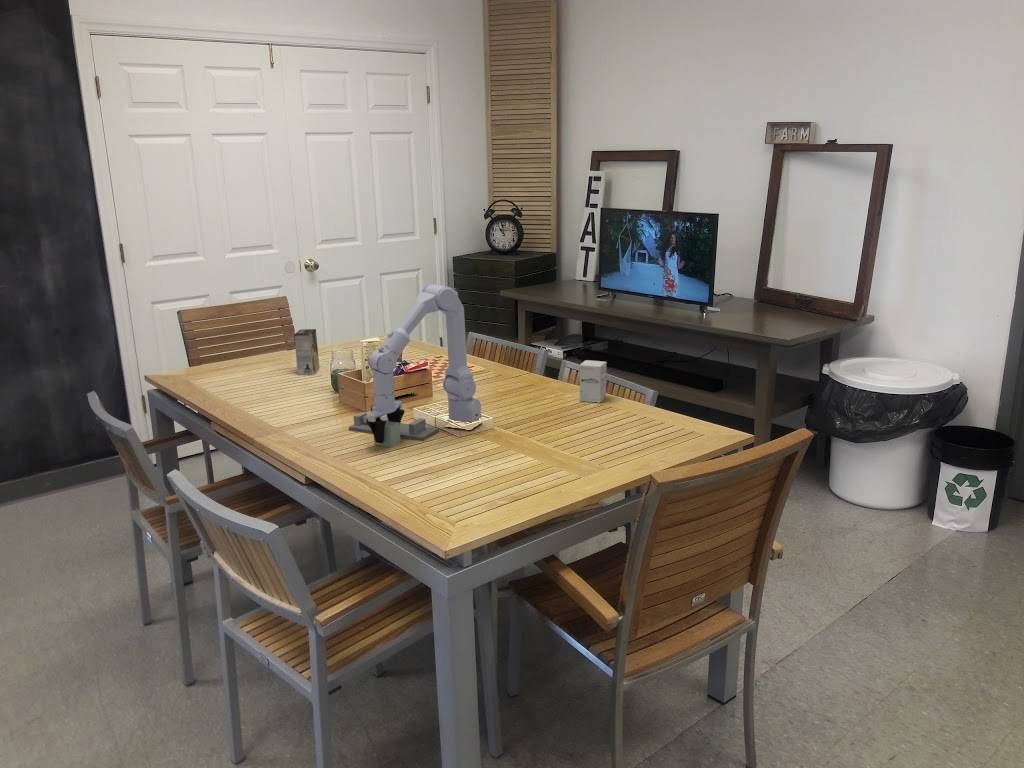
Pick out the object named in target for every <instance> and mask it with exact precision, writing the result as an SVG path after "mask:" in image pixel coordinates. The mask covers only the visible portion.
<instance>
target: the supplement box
mask: <svg viewBox="0 0 1024 768" xmlns="http://www.w3.org/2000/svg"><path fill="white" fill-rule="evenodd" d="M607 363H608V362H607V361H603V360H602V361H600V360H590V359H589V360H588V359H586V360H584V361H583V362H581V363H580V364H579V399H578V400H579V402H587V403H595V402H597V403H596V404H601V403H602V402H603V401H604V400H605V399H606V397H605V396H606V395H607V393H606V392H607V391H606V390H607ZM604 398H605V399H604ZM603 399H604V400H603ZM602 400H603V401H602ZM601 401H602V402H601ZM600 402H601V403H600Z"/></svg>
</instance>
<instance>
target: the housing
mask: <svg viewBox="0 0 1024 768" xmlns="http://www.w3.org/2000/svg"><path fill="white" fill-rule="evenodd" d="M400 423H401V422H400ZM400 423H398V422H391V421H386V424H385V428H384V441H383V443H376V441H375V438H374V437H373V445H375V446H380V447H381V446H382V447H387V448H394V447H395V446H396V445H398V444H400V443H402V441H401V439H402V438H400Z"/></svg>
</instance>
